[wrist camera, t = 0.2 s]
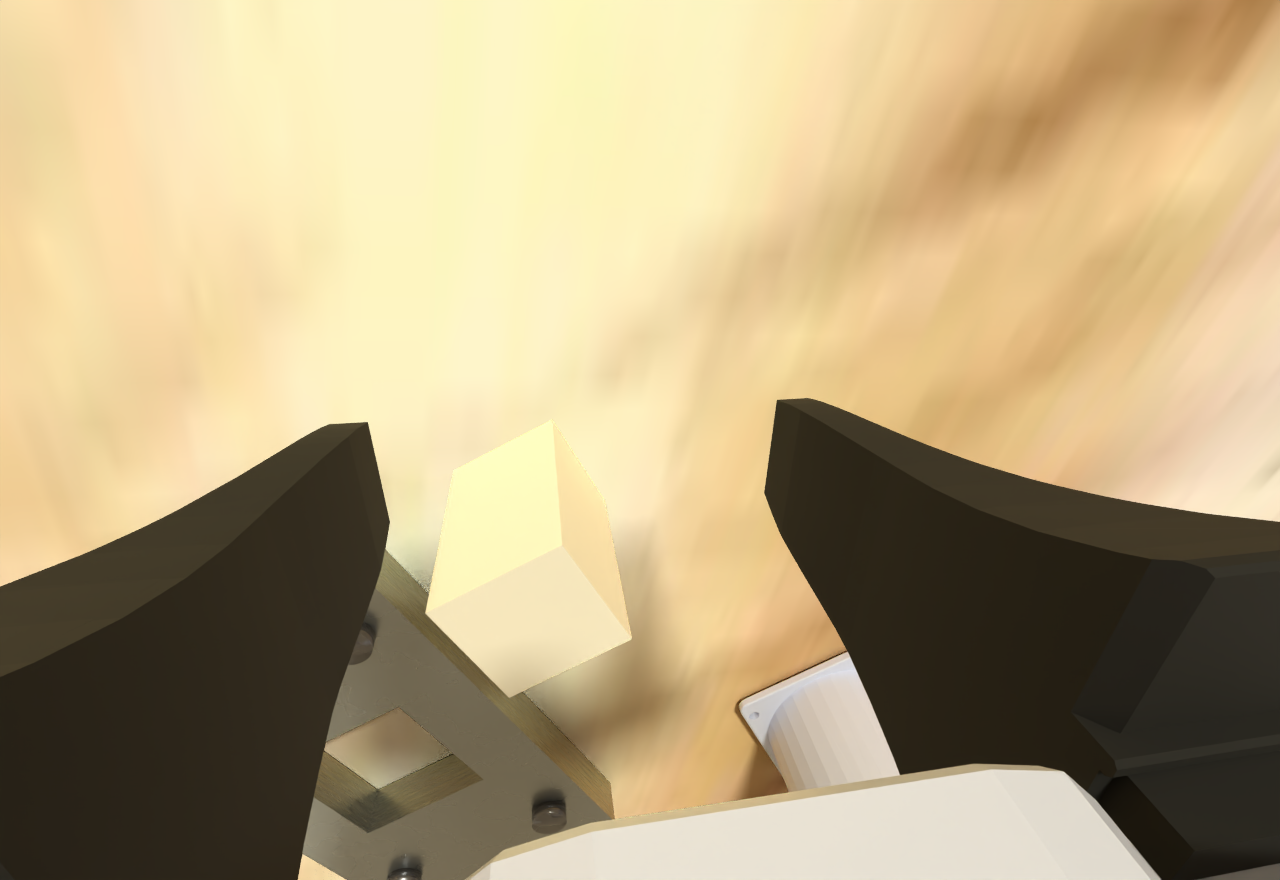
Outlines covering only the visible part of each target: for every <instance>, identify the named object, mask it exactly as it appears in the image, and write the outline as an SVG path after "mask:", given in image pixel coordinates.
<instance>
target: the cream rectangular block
mask: <svg viewBox="0 0 1280 880" xmlns="http://www.w3.org/2000/svg"><path fill="white" fill-rule="evenodd" d="M425 614H426V615H427V616H428V617H429V618H430V619H431V620H432V621H433V622H434V623H435V624H436V625H437V626H438V627H439V628H440V629H441V630H442V631H443V632H444V633H445V634H446V635H447V636H448V637H449V638H450V639H451V640H452V641H453V642H454V643H455V644H456V645H457V646H458V647H459V648H460V649H461V650H462V651H463V652H464V653H465V654H466V655H467V656H468V657H469V658H470V659H471V660H472V661H473V662H474V663H475V664H476V665H477V666H478V667H479V668H480V669H481V670H482V671H483V672H484V673H485V674H486V675H487V676H488V677H489V678H490V679H491V680H492V681H493V682H494V683H495V684H496V685H497V686H498V687H499V688H500V689H501V690H502V691H503V692H504V693H505V694H506V695H507V696H508V697H509V698H510V697H512V696H514V695H516V694H518V693H521V692H523V691H525V690H527V689H529V688H531V687H533V686H535V685H537V684H539V683H541V682H544V681H546V680H548V679H550V678H552V677H554V676H556V675H558V674H560V673H562V672H565V671H567V670H569V669H571V668H573V667H575V666H577V665H579V664H581V663H583V662H585V661H588V660H590V659H592V658H594V657H596V656H598V655H600V654H602V653H604V652H606V651H609V650H611V649H613V648H615V647H617V646H619V645H621V644H623V643H625V642H627V641H629V640H632V636H631V631H630V626H629V621H628V616H627V611H626V606H625V601H624V595H623V590H622V585H621V580H620V575H619V570H618V565H617V560H616V555H615V550H614V545H613V539H612V534H611V529H610V524H609V519H608V514H607V509H606V504H605V499H604V498H603V496H602V495H601V493H600V492H599V490H598V489H597V487H596V486H595V484H594V483H593V481H592V480H591V478H590V477H589V475H588V473H587V472H586V470H585V469H584V467H583V466H582V464H581V463H580V461H579V460H578V458H577V457H576V455H575V454H574V452H573V450H572V449H571V447H570V446H569V444H568V443H567V441H566V440H565V438H564V437H563V435H562V434H561V432H560V431H559V429H558V427H557V426H556V424H555V423H554V421H553V420H550V421H548V422H546V423H544V424H542V425H540V426H538V427H536V428H534V429H533V430H531V431H529V432H527V433H525V434H523V435H521V436H519V437H517V438H515V439H513V440H511V441H509V442H508V443H506V444H504V445H502V446H500V447H498V448H496V449H494V450H492V451H490V452H488V453H486V454H484V455H482V456H481V457H479V458H477V459H475V460H473V461H471V462H469V463H467V464H465V465H463V466H461V467H459V468H457V469H455V470H454V471H453V476H452V481H451V486H450V491H449V496H448V501H447V506H446V511H445V516H444V521H443V526H442V531H441V536H440V541H439V546H438V551H437V556H436V561H435V566H434V571H433V577H432V582H431V587H430V592H429V597H428V602H427V607H426V612H425Z"/></svg>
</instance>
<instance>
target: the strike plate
mask: <svg viewBox="0 0 1280 880" xmlns="http://www.w3.org/2000/svg"><path fill="white" fill-rule="evenodd" d="M428 597H429V594H428V593H427V592H426V591H425V590H424V589H423V588H422V587H421V586H420V585H419V584H418V583H417V582H416V581H415V580H414V579H413V578H412V577H411V576H410V575H409V574H408V573H407V572H406V571H405V570H404V569H403V568H402V566H401V565H400V564H399V563H398V562H397V561H396V560H395V559H394V558H393V557H392V556H391V555H390V554H389V553H388V552H387V551H386V550H385V553H384V558H383V563H382V567H381V572H380V575H379V578H378V581H377V584H376V587H375V590H374V593H373V596H372V598H371V601H370V604H369V607H368V610H367V613H366V616H365V619H364V621H363V624H362V627H361V630H360V633H359V635H358V638H357V641H356V644H355V647H354V650H353V652H352V655H351V658H350V661H349V664H348V667H347V669H346V672H345V675H344V678H343V681H342V683H341V687H340V690H339V693H338V697H337V700H336V703H335V706H334V710H333V713H332V717H331V722H330V726H329V730H328V735H327V739H326V742H327V741H329V740H331V739H333V738H335V737H337V736H340V735H342V734H344V733H346V732H348V731H350V730H352V729H354V728H356V727H358V726H360V725H362V724H364V723H366V722H368V721H370V720H373V719H375V718H377V717H379V716H381V715H383V714H385V713H387V712H389V711H391V710H393V709H395V708H397V707H399V708H400V709H401V710H403V711H404V712H405V713H406V714H407V715H409V716H410V717H411V718H412V719H413V720H414V721H416V722H417V723H418V724H419V725H420V726H421V727H423V728H424V729H425V730H426V731H427V732H428V733H430V734H431V735H432V736H433V737H434V738H436V739H437V740H438V741H439V742H440V743H441V744H443V745H444V746H445V747H446V748H447V749H448V750H450V751H451V752H452V753H453V755H450V756H448V757H446V758H444V759H442V760H440V761H438V762H436V763H434V764H431V765H429V766H427V767H425V768H423V769H421V770H419V771H417V772H415V773H412V774H410V775H408V776H406V777H404V778H402V779H400V780H398V781H395V782H393V783H391V784H389V785H387V786H385V787H383V788H381V789H379V790H377V789H376V788H374V787H373V786H371V785H370V784H369V783H367V782H366V781H365V780H363V779H362V778H360V777H359V776H358V775H356V774H355V773H354V772H352V771H351V770H349V769H348V768H347V767H345V766H344V765H342V764H341V763H340V762H338V761H337V760H336V759H334V758H333V757H331V756H330V755H329V754H327V753H326V752H323V757H322V761H321V765H320V770H319V774H318V779H317V784H316V788H315V793H314V798H313V803H312V808H311V813H310V817H309V822H308V827H307V832H306V837H305V842H304V847H303V852H302V854H304V855H306V856H307V857H309V858H311V859H312V860H314V861H316V862H317V863H319V864H321V865H323V866H324V867H326V868H328V869H329V870H331V871H333V872H335V873H336V874H338V875H340V876H341V877H343V878H345V879H347V880H465V879H466V878H468V877H469V876H470V875H472V874H473V873H474V872H475V871H477V870H478V869H479V868H481V867H482V866H483V865H485V864H486V863H487V862H488V861H490V860H491V859H492V858H494V857H495V856H496V855H498V854H499V853H500V852H501V851H503V850H505V849H508V848H511V847H515V846H518V845H521V844H524V843H527V842H531V841H534V840H537V839H540V838H543V837H547V836H550V835H553V834H556V833H560V832H563V831H566V830H569V829H572V828H576V827H579V826H582V825H585V824H589V823H593V822H600V821H606V820H613V819H615V818H614V810H613V802H612V794H611V786H610V782H609V781H608V780H607V779H606V778H605V777H604V776H603V775H602V774H601V773H600V772H599V771H598V770H597V769H596V768H595V767H594V766H593V765H592V764H591V763H590V762H589V761H588V759H587V758H586V757H585V756H584V755H583V754H582V753H581V752H580V751H579V750H578V749H577V748H576V747H575V746H574V745H573V744H572V743H571V742H570V741H569V740H568V739H567V738H566V737H565V736H564V735H563V734H562V733H561V731H560V730H559V729H558V728H557V727H556V726H555V725H554V724H553V723H552V722H551V721H550V720H549V719H548V718H547V717H546V716H545V715H544V714H543V713H542V712H541V711H540V710H539V709H538V708H537V707H536V706H535V704H534V703H533V702H532V701H531V700H530V699H529V698H528V697H527V696H526V695H525V694H524V693H523V692H521V693H518V694H516V695H514V696H512V697H510V698H509V697H508V696H507V695H506V694H505V693H504V692H503V691H502V690H501V689H500V688H499V687H498V686H497V685H496V684H495V683H494V682H493V681H492V680H491V679H490V678H489V677H488V676H487V675H486V674H485V673H484V672H483V671H482V670H481V669H480V668H479V667H478V666H477V665H476V664H475V663H474V662H473V661H472V660H471V659H470V658H469V657H468V656H467V655H466V654H465V653H464V652H463V651H462V650H461V649H460V648H459V647H458V646H457V645H456V644H455V643H454V642H453V641H452V640H451V639H450V638H449V637H448V636H447V635H446V634H445V633H444V632H443V631H442V630H441V629H440V628H439V627H438V626H437V625H436V624H435V623H434V622H433V621H432V620H431V619H430V618H429V617H428V616H427V615H426V614H425V612H426V607H427V602H428Z"/></svg>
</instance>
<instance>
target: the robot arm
mask: <svg viewBox="0 0 1280 880" xmlns="http://www.w3.org/2000/svg"><path fill="white" fill-rule="evenodd" d="M764 493H765V496H766V499H767V501H768V504H769V507H770V509H771V512H772V515H773V517H774V520H775V522H776V524H777V527H778V529H779V532H780V534H781V536H782V538H783V540H784V542H785V543H786V545H787V547H788V549H789V550H790V552H791V554H792V556H793V557H794V559H795V561H796V562H797V564H798V566H799V568H800V569H801V571H802V573H803V574H804V576H805V578H806V579H807V581H808V583H809V585H810V586H811V588H812V590H813V591H814V593H815V595H816V596H817V598H818V600H819V601H820V603H821V605H822V607H823V608H824V610H825V612H826V613H827V615H828V617H829V618H830V620H831V622H832V623H833V625H834V627H835V628H836V630H837V632H838V634H839V636H840V638H841V640H842V642H843V644H844V645H845V647H846V649H847V651H848V652H845V653H843V654H841V655H839V656H837V657H835V658H832V659H830V660H828V661H826V662H824V663H821V664H819V665H817V666H815V667H813V668H811V669H808V670H806V671H804V672H802V673H800V674H798V675H795V676H793V677H791V678H789V679H787V680H785V681H782V682H780V683H778V684H776V685H774V686H772V687H769V688H767V689H765V690H763V691H761V692H758V693H756V694H754V695H752V696H750V697H748V698H745V699H744V700H742V701H741V702H740V704H739V709H740V712H741V714H742V716H743V717H744V719H745V720H746V722H747V723H748V725H749V726H750V728H751V729H752V731H753V733H754V734H755V736H756V737H757V739H758V740H759V742H760V743H761V745H762V746H763V748H764V749H765V751H766V752H767V754H768V755H769V757H770V758H771V760H772V761H773V763H774V764H775V766H776V768H777V769H778V771H779V772H780V774H781V775H782V777H783V778H784V781H785V784H786V786H787V789H788V793H781V794H775V795H768V796H762V797H755V798H749V799H742V800H736V801H729V802H723V803H716V804H710V805H703V806H697V807H690V808H684V809H677V810H671V811H664V812H658V813H652V814H645V815H639V816H632V817H626V818H619V819H613V820H606V821H600V822H593V823H589V824H585V825H582V826H579V827H576V828H572V829H569V830H566V831H563V832H560V833H556V834H553V835H550V836H547V837H543V838H540V839H537V840H534V841H531V842H527V843H524V844H521V845H518V846H515V847H511V848H508V849H505V850H503V851H501V852H500V853H499V854H498V855H496V856H495V857H494V858H492V859H491V860H490V861H488V862H487V863H486V864H485V865H483V866H482V867H481V868H479V869H478V870H477V871H475V872H474V873H473V874H472V875H470V876H469V877H468V878H466V879H465V880H1280V522H1275V521H1266V520H1257V519H1248V518H1239V517H1230V516H1221V515H1212V514H1205V513H1198V512H1191V511H1185V510H1179V509H1173V508H1166V507H1160V506H1154V505H1148V504H1141V503H1136V502H1131V501H1126V500H1120V499H1115V498H1110V497H1105V496H1100V495H1096V494H1091V493H1087V492H1082V491H1078V490H1073V489H1069V488H1065V487H1060V486H1056V485H1052V484H1048V483H1044V482H1040V481H1036V480H1032V479H1028V478H1025V477H1021V476H1018V475H1015V474H1011V473H1008V472H1005V471H1001V470H998V469H995V468H991V467H988V466H985V465H981V464H978V463H975V462H972V461H969V460H966V459H964V458H961V457H958V456H955V455H953V454H950V453H947V452H945V451H942V450H939V449H937V448H934V447H931V446H929V445H926V444H923V443H921V442H918V441H916V440H913V439H911V438H908V437H906V436H904V435H901V434H899V433H896V432H894V431H892V430H889V429H887V428H885V427H882V426H880V425H878V424H875V423H873V422H871V421H868V420H866V419H864V418H861V417H859V416H857V415H854V414H852V413H849V412H847V411H845V410H842V409H840V408H837V407H835V406H832V405H829V404H826V403H824V402H821V401H817V400H813V399H809V398H804V399H786V400H777V404H776V411H775V419H774V426H773V433H772V441H771V448H770V455H769V463H768V470H767V477H766V485H765V492H764ZM389 524H390V521H389V516H388V512H387V507H386V503H385V498H384V494H383V489H382V485H381V480H380V476H379V471H378V466H377V462H376V457H375V453H374V448H373V444H372V439H371V435H370V430H369V426H368V422H363V423H345V424H329V425H327V426H324V427H322V428H320V429H318V430H316V431H314V432H312V433H310V434H308V435H307V436H305V437H303V438H301V439H300V440H298V441H296V442H295V443H293V444H291V445H290V446H288V447H286V448H285V449H283V450H281V451H280V452H278V453H276V454H275V455H273V456H271V457H270V458H268V459H266V460H265V461H263V462H262V463H260V464H258V465H257V466H255V467H253V468H252V469H250V470H248V471H247V472H245V473H243V474H242V475H240V476H238V477H237V478H235V479H233V480H231V481H229V482H228V483H226V484H224V485H222V486H220V487H219V488H217V489H215V490H213V491H211V492H210V493H208V494H206V495H204V496H202V497H201V498H199V499H197V500H195V501H193V502H192V503H190V504H188V505H186V506H184V507H183V508H181V509H179V510H177V511H175V512H173V513H171V514H169V515H167V516H165V517H164V518H162V519H159V520H157V521H155V522H153V523H151V524H149V525H147V526H145V527H143V528H141V529H139V530H137V531H134V532H132V533H130V534H128V535H126V536H124V537H121V538H119V539H117V540H115V541H113V542H110V543H108V544H106V545H104V546H102V547H99V548H97V549H95V550H92V551H90V552H88V553H85V554H83V555H80V556H78V557H75V558H73V559H70V560H68V561H65V562H62V563H60V564H57V565H55V566H52V567H50V568H47V569H44V570H42V571H39V572H37V573H34V574H32V575H29V576H26V577H24V578H21V579H19V580H16V581H14V582H11V583H8V584H6V585H3V586H1V587H0V880H298V874H299V869H300V863H301V858H302V852H303V847H304V842H305V837H306V832H307V827H308V822H309V817H310V813H311V808H312V803H313V798H314V793H315V788H316V784H317V779H318V774H319V770H320V765H321V761H322V757H323V752H324V748H325V744H326V739H327V735H328V730H329V726H330V722H331V717H332V713H333V710H334V706H335V703H336V700H337V697H338V693H339V690H340V687H341V683H342V681H343V678H344V675H345V672H346V669H347V667H348V664H349V661H350V658H351V655H352V652H353V650H354V647H355V644H356V641H357V638H358V635H359V633H360V630H361V627H362V624H363V621H364V619H365V616H366V613H367V610H368V607H369V604H370V601H371V598H372V596H373V593H374V590H375V587H376V584H377V581H378V578H379V575H380V572H381V567H382V563H383V558H384V553H385V547H386V541H387V535H388V530H389Z"/></svg>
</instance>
